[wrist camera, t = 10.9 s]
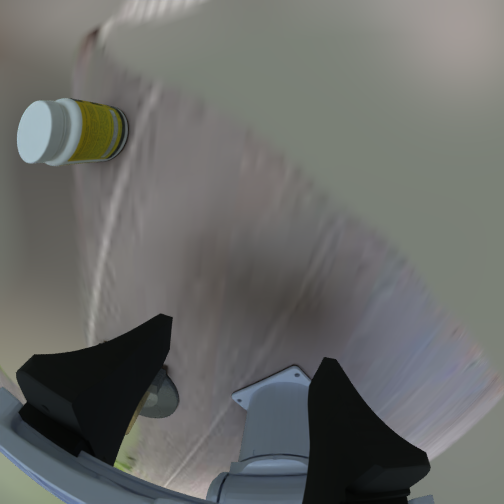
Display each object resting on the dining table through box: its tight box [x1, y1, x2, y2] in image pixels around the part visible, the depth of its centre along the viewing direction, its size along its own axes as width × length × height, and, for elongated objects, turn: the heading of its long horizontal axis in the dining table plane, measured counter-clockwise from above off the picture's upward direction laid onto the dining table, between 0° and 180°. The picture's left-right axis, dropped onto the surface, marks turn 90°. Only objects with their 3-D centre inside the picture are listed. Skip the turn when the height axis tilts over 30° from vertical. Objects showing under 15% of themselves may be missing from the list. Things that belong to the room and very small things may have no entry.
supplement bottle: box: [17, 98, 128, 166], centre depth 15 cm, size 5×5×8 cm
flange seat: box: [98, 343, 179, 418], centre depth 26 cm, size 11×11×3 cm
